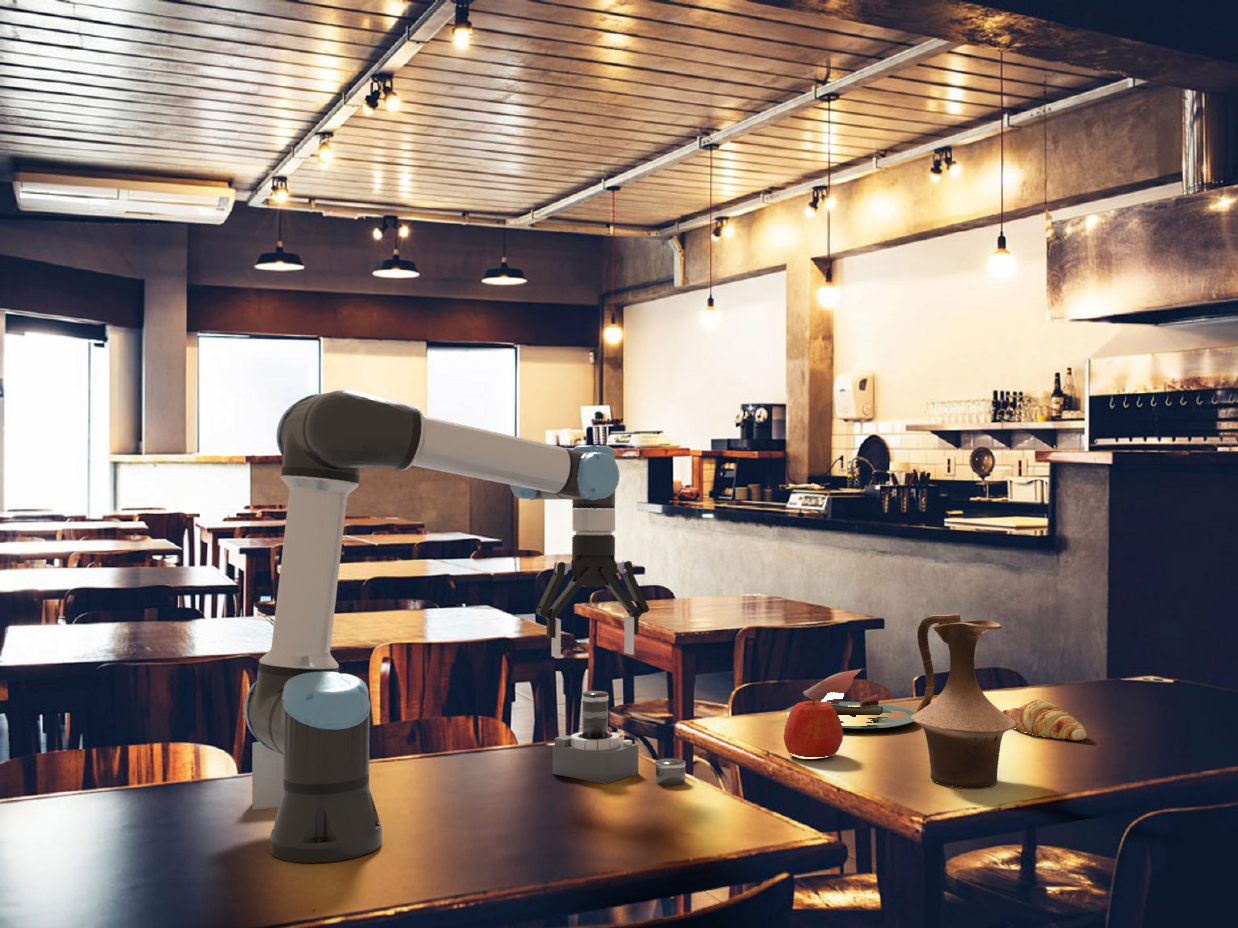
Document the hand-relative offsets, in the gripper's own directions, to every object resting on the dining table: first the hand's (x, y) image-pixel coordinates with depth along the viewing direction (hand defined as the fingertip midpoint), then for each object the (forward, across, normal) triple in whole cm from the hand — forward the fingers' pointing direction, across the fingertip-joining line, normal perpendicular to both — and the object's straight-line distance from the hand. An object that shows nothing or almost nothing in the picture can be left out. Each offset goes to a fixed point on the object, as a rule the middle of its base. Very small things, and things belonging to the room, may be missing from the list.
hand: (592, 655), depth 204 cm
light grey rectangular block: (+22, +53, -1) cm, 57 cm away
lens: (+16, 0, 0) cm, 16 cm away
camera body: (+21, -1, 0) cm, 21 cm away
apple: (+20, -42, +4) cm, 47 cm away
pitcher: (+20, -56, +29) cm, 66 cm away
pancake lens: (+21, -10, +10) cm, 25 cm away
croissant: (+20, -95, +4) cm, 97 cm away
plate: (+20, -66, -22) cm, 73 cm away
